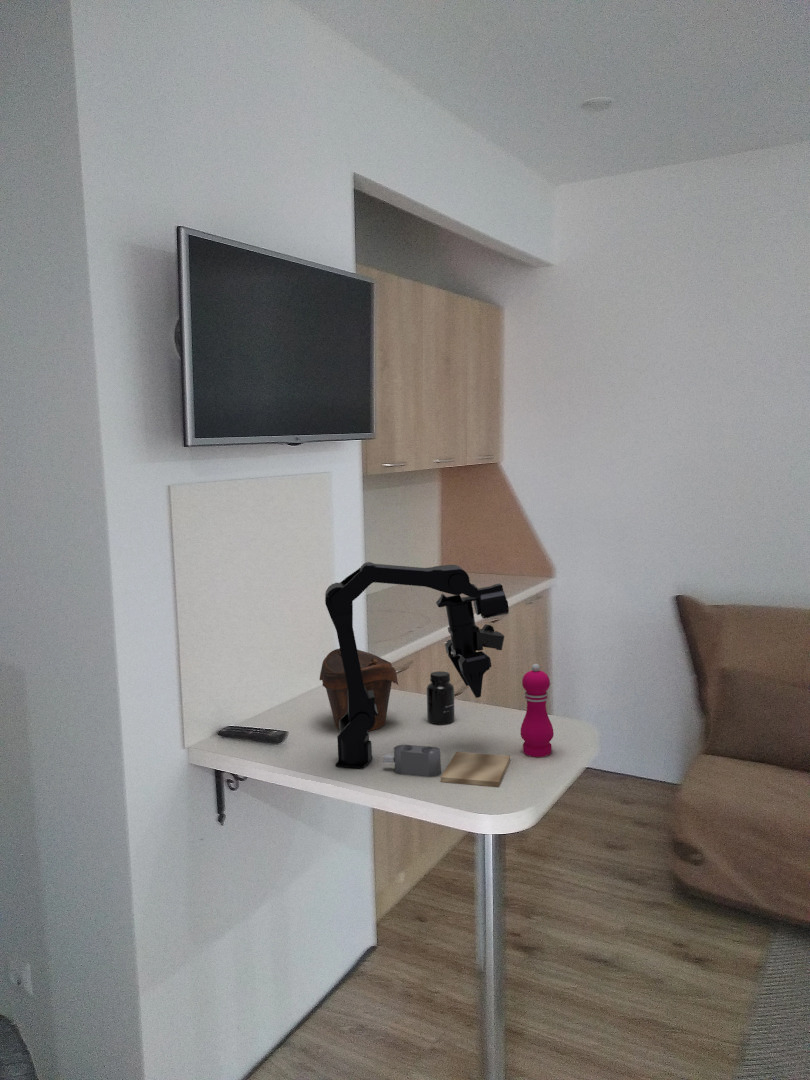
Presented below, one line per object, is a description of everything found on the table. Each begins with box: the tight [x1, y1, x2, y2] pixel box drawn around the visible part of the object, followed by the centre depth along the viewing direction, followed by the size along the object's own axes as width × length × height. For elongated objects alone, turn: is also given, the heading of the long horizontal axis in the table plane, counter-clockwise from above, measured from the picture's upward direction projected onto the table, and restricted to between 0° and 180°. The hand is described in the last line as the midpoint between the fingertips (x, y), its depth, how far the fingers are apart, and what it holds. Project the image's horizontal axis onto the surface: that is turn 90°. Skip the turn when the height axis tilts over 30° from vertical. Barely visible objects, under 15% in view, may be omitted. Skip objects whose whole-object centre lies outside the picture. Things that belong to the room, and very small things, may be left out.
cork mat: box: [440, 751, 511, 788], centre depth 172 cm, size 12×14×1 cm
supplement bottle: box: [426, 670, 456, 725], centre depth 203 cm, size 7×7×12 cm
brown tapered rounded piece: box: [319, 647, 399, 732], centre depth 202 cm, size 18×20×18 cm
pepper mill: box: [520, 663, 554, 758], centre depth 180 cm, size 7×7×20 cm
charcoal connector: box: [382, 744, 442, 778], centre depth 172 cm, size 12×4×5 cm, turn 73°
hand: (473, 691), depth 179 cm, fingers open, 9 cm apart
